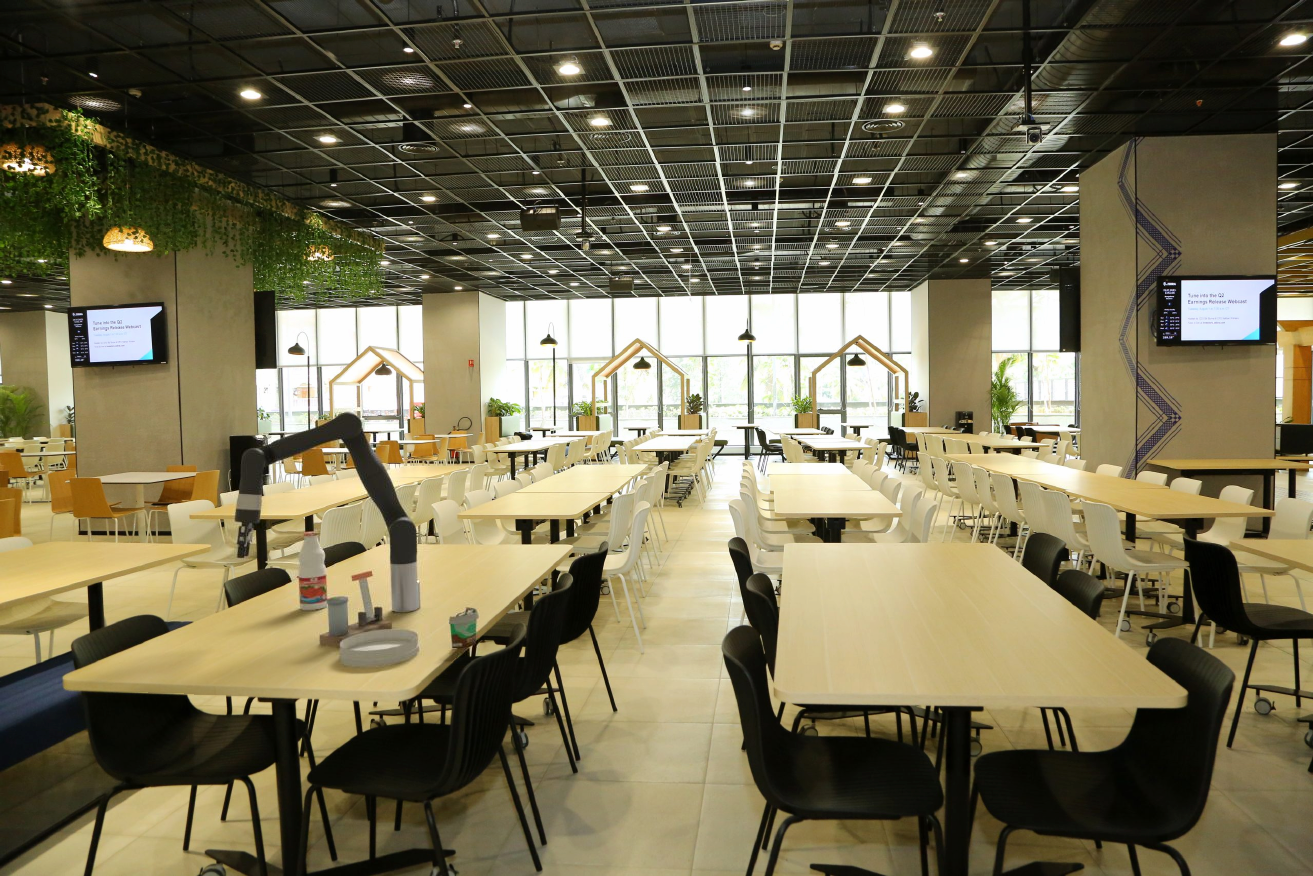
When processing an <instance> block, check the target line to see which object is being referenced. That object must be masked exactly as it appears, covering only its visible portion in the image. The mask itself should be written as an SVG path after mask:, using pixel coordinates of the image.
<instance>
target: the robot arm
mask: <svg viewBox="0 0 1313 876" xmlns="http://www.w3.org/2000/svg"><path fill="white" fill-rule="evenodd" d="M338 440H339V441H342V442H343V444H344V446H345V447H346V449H347V451H348V453H349V455H350V457H351V459H352V462H353V465H354V469H355V471H356V473H357V475H358V477H359V480H360V481H361V484H362V485H363V487H364V490H365V491H366V492H367V494H368V495H369V498H370V500H372V502H373V503H374V504H375V506H376V507H377V508H378V510H379V512H380V514H381V516H382V518H383V521H384V523H385V525H386V527H387V531H388V535H389V564H390V565H389V566H390V569H389V571H390V590H391V591H390V593H391V594H390V595H391V611H392V612H393V611H395V613H407V612H408V613H410V612H413V611H416V610H418V609H419V608H421V606H422V605H421V586H420V584H421V582H420V580H418V579H419V578H418V561H417V560H418V535H417V533H418V532H417V528H416V524H415V523H414V522H413V520H411V518H410V516H408V514H407V512H406V511H405V509H404V508H403V506H402V504H401V502H400V500H399V498H398V495H397V492H396V491H397V490H396V489H395V486H394V483H393V481H392V479H391V477H390V475H389V473H388V471H387V469H386V468H385V466H384V464H383V462H382V461H381V459H380V458H379V456H378V455H377V453H376V452H375V451H374V449H373V448H372V446H371V444H370V443H369V441H368V438H367V436H366V434H365V431H364V429H363V422H362V420H361V418H360V416H359V415H357V413H354V412H351V411H345V412H341V413H339V414H338V415H337V416H336V417H334V418H333V419H330V420H329V421H326V422H325V423H324V424H320V425H317V426H316V427H313V428H309V429H307V430H302V431H300V432H296V433H293V434H290V435H287V436H284V437H282V438H279V439H276V440H273V441H271V442H270V443H269V444H268V443H267V444H266V445H263V446H260V447H256V448H255V447H253V448H252V447H251V448H248V449H247V450H245V451H244V452H243V453H242V456H241V463H240V481H239V487H238V488H239V489H238V494H237V499H236V503H235V504H236V505H235V512H234V522H236V523H240V524H241V525H239V526H238V531H237V533H238V534H237V538H236V539H237V541H236V545H237V553H236V558H238V559H244V558H245V557H249V556H250V548H251V544H252V542H253V534H254V525H253V524H259V523H260V521H261V511H262V505H263V504H262V503H263V500H262V499H263V488H264V487H263V486H264V480H263V477H264V469H265V468H266V467H268V466H271V465H272V464H275V463H277V462H280V461H284V460H287V459H289V458H292V457H295V456H297V455H300V454H302V453H304V452H307V451H309V450H312V449H314V448H317V447H319V446H322V445H323V444H327V443H330V442H334V441H338Z"/></svg>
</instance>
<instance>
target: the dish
mask: <svg viewBox="0 0 1313 876" xmlns="http://www.w3.org/2000/svg"><path fill="white" fill-rule="evenodd" d="M418 652H420V645H419V635H418V633H417V632H415V631H413V630H411V629H410V630H409V629H402V628H401V629H399V628H392V629H384V630H375V631H369V632H364V633H360V634H356V635H353V636H350V637H348V638H346V639H344V640H342V641H341V642H340V647H339V662H340V663H341V664H342V665H344V666H347V667H351V666H354V667H353V668H377V667H376V666H378V667H384V665H386V666H390V665H389V664H391V665H395V664H394V663H396V664H399V663H402V661H403V662H406V661H408V660H411V659H413V658H414V657H416V656H417V655H418V654H419V653H418ZM417 653H418V654H417ZM416 654H417V655H416ZM415 655H416V656H415ZM398 662H399V663H398Z"/></svg>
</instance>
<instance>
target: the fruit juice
mask: <svg viewBox="0 0 1313 876" xmlns="http://www.w3.org/2000/svg"><path fill="white" fill-rule="evenodd" d="M318 536H319V532H318V531H306V532H303V538H304V540H303V543H302V546H301V548H300V551H299V552H298V555H297V556H298V557H297V559H298V563H299V568H298V592H299V594H298V595H299V607H300V610H301V609H302V611H316V609H318V610H321V608H322V609H325V608H327V607H328V604H327V599H328V584H327V581H328V580H327V568H326V565H325V558H326V553H325V551H324V549H323V548H322V545H321V544H320V541H319V539H318Z"/></svg>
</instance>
